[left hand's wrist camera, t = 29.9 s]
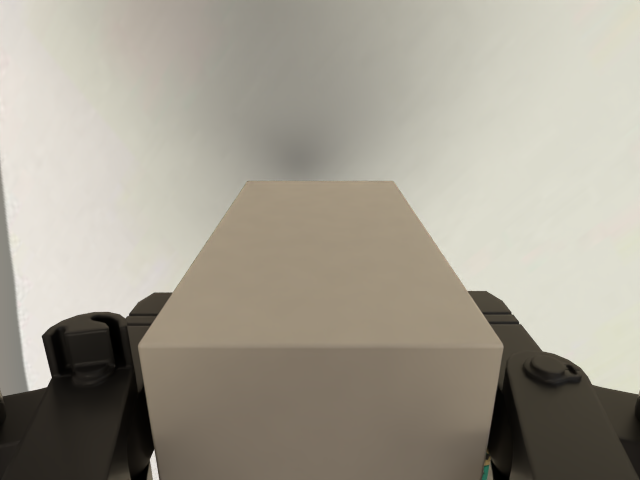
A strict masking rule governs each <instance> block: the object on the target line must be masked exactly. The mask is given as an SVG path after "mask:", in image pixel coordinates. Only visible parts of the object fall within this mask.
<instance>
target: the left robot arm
mask: <svg viewBox="0 0 640 480" xmlns="http://www.w3.org/2000/svg"><path fill="white" fill-rule="evenodd" d="M468 293H469V294H470V296H471V297H472V299H473V300H474V302H475V303H476V305H477V306H478V308H479V309H480V311H481V312H482V314H483V315H484V317H485V318H486V320H487V321H488V323H489V324H490V326H491V327H492V329H493V330H494V332H495V333H496V335H497V336H498V338H499V339H500V341H501V342H502V343H503V353H502V360H501V366H500V372H499V378H498V384H497V390H496V396H495V402H494V409H493V415H492V421H491V427H490V433H489V439H488V445H487V450H488V452H489V455H490V457H491V458H490V464H489V470H488V476H487V480H640V392H639V395H638V394H633V393H628V392H623V391H617V390H612V389H607V388H602V387H598V386H594V385H592V384H591V382H590V380H589V378H588V376H587V375H586V374H585V373H584V372H583V370H582V369H581V368H580V367H578V366H577V365H575V364H574V363H572V362H571V361H569V360H567V359H565V358H563V357H560V356H558V355H555V354H552V353H547V352H543V351H542V350H541V349H540V348H539V346H538V345H537V344H536V343H535V341H534V340H533V339H532V338H531V336H530V335H529V334H528V333H527V331H526V330H525V329H524V328H523V326H522V325H521V324H519V321H518V320H517V319H516V318H515V316H514V315H512V314H511V311H510V310H509V309H508V307H507V306H506V305H505V304H504V302H503V301H502V300H500V299H498V298H497V297H495V296H493V295H492V294H490V293H488V292H487V291H468ZM171 295H172V293H153V294H151V295H150V296H148V297H146V298H145V299H143V300H142V301H140V302H138V303H137V305H136V306H135V307H134V309H133V310H132V311H131V312H130V314H129V316H127V317H126V319H125V318H124V317H122V316H121V315H120V314H115V313H111V312H92V313H87V314H82V315H77V316H74V317H71V318H69V319H66V320H63V321H61V322H59V323H58V324H56V325H54V326H52V327H50V328H49V329H48V330H47V331H46V332H45V333H44V334H43V335H42V339H43V343H44V347H45V351H46V355H47V360H48V364H49V368H50V372H51V376H52V379H51V381H50V383H49V385H48V387H46V388H42V389H38V390H33V391H28V392H23V393H18V394H13V395H8V396H3V397H2V394H1V390H0V480H153V478H152V471H151V464H150V458H151V456H152V453H153V451H154V443H153V437H152V431H151V425H150V418H149V412H148V406H147V400H146V394H145V387H144V381H143V375H142V369H141V363H140V356H139V350H138V345H139V343H140V341H141V340H142V338H143V337H144V335H145V334H146V332H147V331H148V329H149V328H150V326H151V325H152V323H153V322H154V320H155V319H156V317H157V316H158V314H159V313H160V311H161V310H162V308H163V307H164V305H165V304H166V302H167V301H168V299H169V298H170V296H171Z"/></svg>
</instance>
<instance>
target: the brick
mask: <svg viewBox="0 0 640 480" xmlns="http://www.w3.org/2000/svg"><path fill="white" fill-rule="evenodd" d="M138 350H139V356H140V363H141V369H142V375H143V381H144V387H145V394H146V400H147V406H148V412H149V418H150V425H151V431H152V437H153V443H154V449H155V455H156V462H157V468H158V474H159V480H482V476H483V470H484V464H485V457H486V451H487V445H488V439H489V433H490V427H491V421H492V415H493V409H494V402H495V396H496V390H497V384H498V378H499V372H500V366H501V360H502V353H503V343H502V342H501V341H500V339H499V338H498V336H497V335H496V333H495V332H494V330H493V329H492V327H491V326H490V324H489V323H488V321H487V320H486V318H485V317H484V315H483V314H482V312H481V311H480V309H479V308H478V306H477V305H476V303H475V302H474V300H473V299H472V297H471V296H470V294H469V293H468V291H467V290H466V288H465V287H464V285H463V284H462V282H461V281H460V279H459V278H458V276H457V275H456V274H455V272H454V271H453V269H452V268H451V266H450V265H449V263H448V262H447V260H446V259H445V257H444V256H443V254H442V253H441V251H440V250H439V248H438V247H437V245H436V244H435V242H434V241H433V239H432V238H431V236H430V235H429V233H428V232H427V230H426V229H425V227H424V226H423V224H422V223H421V221H420V220H419V218H418V217H417V215H416V214H415V212H414V211H413V209H412V208H411V207H410V205H409V204H408V202H407V201H406V199H405V198H404V196H403V195H402V193H401V192H400V190H399V189H398V187H397V186H396V184H395V183H394V181H247V182H246V184H245V185H244V187H243V188H242V190H241V191H240V193H239V194H238V196H237V197H236V199H235V200H234V202H233V203H232V205H231V206H230V208H229V209H228V211H227V212H226V214H225V215H224V217H223V218H222V220H221V221H220V223H219V224H218V226H217V227H216V229H215V230H214V232H213V233H212V235H211V236H210V238H209V239H208V241H207V242H206V244H205V245H204V247H203V248H202V250H201V251H200V253H199V254H198V256H197V257H196V259H195V260H194V262H193V263H192V265H191V266H190V268H189V269H188V271H187V272H186V274H185V275H184V277H183V278H182V280H181V281H180V283H179V284H178V286H177V287H176V289H175V290H174V292H173V293H172V295H171V296H170V298H169V299H168V301H167V302H166V304H165V305H164V307H163V308H162V310H161V311H160V313H159V314H158V316H157V317H156V319H155V320H154V322H153V323H152V325H151V326H150V328H149V329H148V331H147V332H146V334H145V335H144V337H143V338H142V340H141V341H140V343H139V345H138Z"/></svg>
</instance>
